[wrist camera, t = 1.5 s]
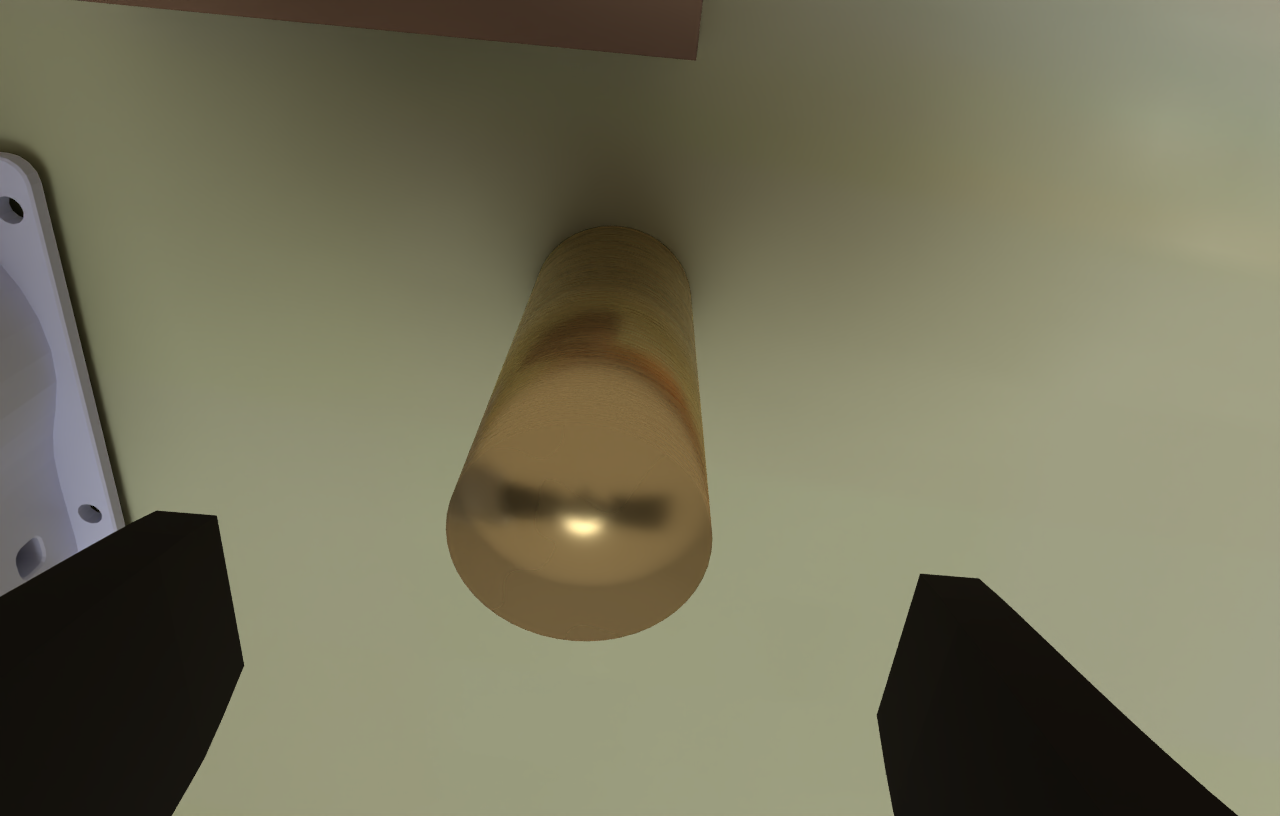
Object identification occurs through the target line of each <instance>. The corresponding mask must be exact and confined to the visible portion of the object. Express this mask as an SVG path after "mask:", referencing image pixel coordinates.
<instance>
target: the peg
mask: <svg viewBox="0 0 1280 816" xmlns="http://www.w3.org/2000/svg"><path fill="white" fill-rule="evenodd" d="M446 535H447V544H448V548H449V552H450V555H451V559H452V561H453V563H454V565H455V568H456V570H457V572H458V574H459V575H460V577H461V578H462V580H463V582H464V583H465V585H466V586H467V587H468V588H469V590H470V591H471V592H472V593H473V594H474V596H475V597H477V598H478V599H479V600H480V601H481V602H482V603H483V604H484V605H485V606H486V607H487V608H489V609H490V610H491V611H493V612H494V613H495V614H497V615H498V616H500V617H502V618H503V619H505V620H507V621H508V622H510V623H512V624H514V625H516V626H518V627H521V628H523V629H525V630H528V631H531V632H534V633H536V634H539V635H543V636H547V637H552V638H556V639H563V640H571V641H600V640H609V639H614V638H620V637H624V636H628V635H631V634H635V633H637V632H640V631H642V630H645V629H647V628H650V627H652V626H654V625H655V624H657V623H659V622H661V621H663V620H664V619H666V618H667V617H669V616H670V615H671V614H673V613H674V612H676V611H677V610H678V609H679V608H680V607H681V606H682V605H683V604H684V603H685V602H686V601H687V600H688V599H689V598H690V596H691V595H692V594H693V593H694V592H695V590H696V589H697V587H698V585H699V584H700V582H701V580H702V579H703V576H704V574H705V572H706V569H707V567H708V563H709V559H710V555H711V549H712V528H711V517H710V506H709V494H708V483H707V472H706V461H705V449H704V438H703V427H702V416H701V404H700V393H699V382H698V371H697V359H696V348H695V337H694V326H693V314H692V303H691V292H690V287H689V282H688V279H687V277H686V274H685V271H684V270H683V268H682V266H681V264H680V262H679V261H678V260H677V258H676V257H675V256H674V254H673V253H672V252H671V251H670V250H669V249H668V248H667V247H666V246H665V245H663V244H662V243H661V242H660V241H658V240H657V239H655V238H653V237H652V236H650V235H648V234H646V233H643V232H641V231H638V230H635V229H632V228H627V227H621V226H602V227H595V228H591V229H587V230H584V231H582V232H579V233H577V234H575V235H573V236H571V237H569V238H568V239H566V240H565V241H564V242H562V243H561V244H560V245H559V246H557V247H556V248H555V249H554V250H553V251H552V253H551V254H550V255H549V256H548V258H547V259H546V261H545V263H544V264H543V266H542V268H541V270H540V273H539V275H538V278H537V280H536V283H535V285H534V288H533V291H532V293H531V296H530V298H529V301H528V303H527V306H526V308H525V311H524V314H523V316H522V319H521V321H520V324H519V326H518V329H517V331H516V334H515V336H514V339H513V342H512V344H511V347H510V349H509V352H508V354H507V357H506V359H505V362H504V365H503V367H502V370H501V372H500V375H499V377H498V380H497V382H496V385H495V388H494V390H493V393H492V395H491V398H490V400H489V403H488V405H487V408H486V411H485V413H484V416H483V418H482V421H481V423H480V426H479V428H478V431H477V434H476V436H475V439H474V441H473V444H472V446H471V449H470V451H469V454H468V457H467V459H466V462H465V464H464V467H463V469H462V472H461V474H460V477H459V480H458V482H457V485H456V487H455V490H454V492H453V495H452V497H451V500H450V503H449V508H448V512H447V520H446Z"/></svg>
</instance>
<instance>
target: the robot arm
mask: <svg viewBox="0 0 1280 816" xmlns="http://www.w3.org/2000/svg"><path fill="white" fill-rule="evenodd" d="M9 197H10V198H13V199H14V200H15V201H16V202H18V203H19V204H20V206H21V208H22V210H23V212H24V214H23V217H20V216H18V215H17V214H16V213H15V212H14V211H13V210H12V208H11V206H10V204H9ZM90 505H92V506H95V507H96V508H97V509H99V511H100V512H101V513H100V512H96V511H95V510H94V509H92V508H91V506H90ZM243 667H244V662H243V656H242V651H241V645H240V640H239V634H238V629H237V624H236V618H235V613H234V607H233V602H232V596H231V591H230V585H229V580H228V574H227V569H226V564H225V558H224V553H223V547H222V542H221V536H220V531H219V525H218V520H217V516H215V515H203V514H191V513H178V512H166V511H155V512H153V513H151V514H149V515H147V516H145V517H143V518H141V519H139V520H136V521H134V522H133V523H131V524H129V525H127V526H125V522H124V518H123V514H122V510H121V506H120V502H119V498H118V494H117V489H116V485H115V481H114V477H113V473H112V469H111V465H110V461H109V457H108V453H107V449H106V444H105V440H104V436H103V432H102V428H101V424H100V420H99V416H98V412H97V408H96V403H95V399H94V395H93V391H92V387H91V383H90V379H89V375H88V371H87V367H86V363H85V358H84V354H83V350H82V346H81V342H80V338H79V334H78V330H77V326H76V322H75V318H74V313H73V309H72V305H71V301H70V297H69V293H68V289H67V285H66V281H65V277H64V273H63V268H62V264H61V260H60V256H59V252H58V248H57V244H56V240H55V236H54V232H53V228H52V223H51V219H50V215H49V211H48V207H47V203H46V199H45V195H44V191H43V187H42V182H41V180H40V178H39V175H38V173H37V171H36V170H35V169H34V168H33V167H32V165H31V164H30V163H29V162H28V161H26V160H25V159H23V158H21V157H20V156H18V155H15V154H11V153H6V152H0V816H172V814H173V813H174V811H175V809H176V807H177V806H178V804H179V802H180V800H181V799H182V797H183V795H184V793H185V792H186V790H187V788H188V787H189V785H190V783H191V781H192V779H193V778H194V776H195V774H196V772H197V771H198V769H199V767H200V765H201V763H202V762H203V760H204V758H205V756H206V754H207V751H208V749H209V747H210V745H211V742H212V740H213V738H214V736H215V733H216V731H217V729H218V727H219V724H220V722H221V720H222V718H223V715H224V713H225V711H226V708H227V706H228V703H229V701H230V698H231V696H232V694H233V691H234V689H235V686H236V684H237V681H238V679H239V677H240V674H241V672H242V669H243ZM877 719H878V726H879V732H880V738H881V745H882V751H883V757H884V764H885V770H886V775H887V780H888V786H889V791H890V797H891V802H892V807H893V812H894V816H1238V815H1237V814H1235V813H1234V812H1233V811H1232V810H1231V809H1229V808H1228V807H1227V806H1226V805H1225V804H1224V803H1222V802H1221V801H1220V800H1219V799H1218V798H1217V797H1215V796H1214V795H1213V794H1212V793H1211V792H1209V791H1208V790H1207V789H1206V788H1205V787H1204V786H1203V785H1201V784H1200V783H1199V782H1198V781H1197V780H1196V779H1195V778H1194V777H1192V776H1191V775H1190V774H1189V773H1188V772H1187V771H1186V770H1185V769H1183V768H1182V767H1181V766H1180V765H1179V764H1178V763H1177V762H1176V761H1174V760H1173V759H1172V758H1171V757H1170V756H1169V755H1168V754H1167V753H1166V752H1164V751H1163V750H1162V749H1161V748H1160V747H1159V746H1158V745H1157V744H1156V743H1155V742H1153V741H1152V740H1151V739H1150V738H1149V737H1148V736H1147V735H1146V734H1145V733H1144V732H1142V731H1141V730H1140V729H1139V728H1138V727H1137V726H1136V725H1135V724H1134V723H1133V722H1132V721H1131V720H1129V719H1128V718H1127V717H1126V716H1125V715H1124V714H1123V713H1122V712H1121V711H1120V710H1119V709H1118V708H1117V707H1115V706H1114V705H1113V704H1112V703H1111V702H1110V701H1109V700H1108V699H1107V698H1106V697H1105V696H1104V695H1103V694H1102V693H1101V692H1099V691H1098V690H1097V689H1096V688H1095V687H1094V686H1093V685H1092V684H1091V683H1090V682H1089V681H1088V680H1087V679H1086V678H1085V677H1084V676H1083V675H1082V674H1080V673H1079V672H1078V671H1077V670H1076V669H1075V668H1074V667H1073V666H1072V665H1071V664H1070V663H1069V662H1068V661H1067V660H1066V659H1065V658H1064V657H1063V656H1062V655H1061V654H1060V653H1058V652H1057V651H1056V650H1055V649H1054V648H1053V647H1052V646H1051V645H1050V644H1049V643H1048V642H1047V641H1046V640H1045V639H1044V638H1043V637H1042V636H1041V635H1040V634H1039V633H1038V632H1037V631H1035V630H1034V629H1033V628H1032V627H1031V626H1030V625H1029V624H1028V623H1027V622H1026V621H1025V620H1024V619H1023V618H1022V617H1021V616H1020V615H1019V614H1018V613H1017V612H1015V611H1014V610H1013V609H1012V608H1011V607H1010V606H1009V605H1008V604H1007V603H1006V602H1005V601H1004V600H1003V599H1001V598H1000V597H999V596H998V595H997V594H996V593H995V592H994V591H993V590H991V589H990V588H989V587H988V586H987V585H986V584H985V583H983V582H982V581H981V580H980V579H978V578H966V577H954V576H942V575H930V574H920V576H919V579H918V582H917V586H916V589H915V592H914V596H913V599H912V602H911V605H910V609H909V612H908V615H907V618H906V622H905V625H904V628H903V631H902V635H901V638H900V641H899V644H898V648H897V651H896V654H895V658H894V661H893V664H892V667H891V671H890V674H889V677H888V680H887V684H886V687H885V690H884V693H883V697H882V700H881V703H880V706H879V710H878V713H877Z"/></svg>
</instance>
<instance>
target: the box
mask: <svg viewBox="0 0 1280 816" xmlns="http://www.w3.org/2000/svg"><path fill="white" fill-rule="evenodd" d="M78 1H88V2H98V3H109V4H119V5H129V6H140V7H150V8H160V9H170V10H181V11H191V12H201V13H212V14H222V15H232V16H243V17H253V18H263V19H273V20H284V21H294V22H304V23H315V24H325V25H335V26H345V27H356V28H366V29H376V30H387V31H397V32H407V33H418V34H428V35H438V36H448V37H459V38H469V39H479V40H490V41H500V42H510V43H520V44H531V45H541V46H551V47H562V48H572V49H582V50H593V51H603V52H613V53H623V54H634V55H644V56H654V57H665V58H675V59H685V60H696V57H697V48H698V39H699V30H700V21H701V12H702V3H703V0H78Z"/></svg>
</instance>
